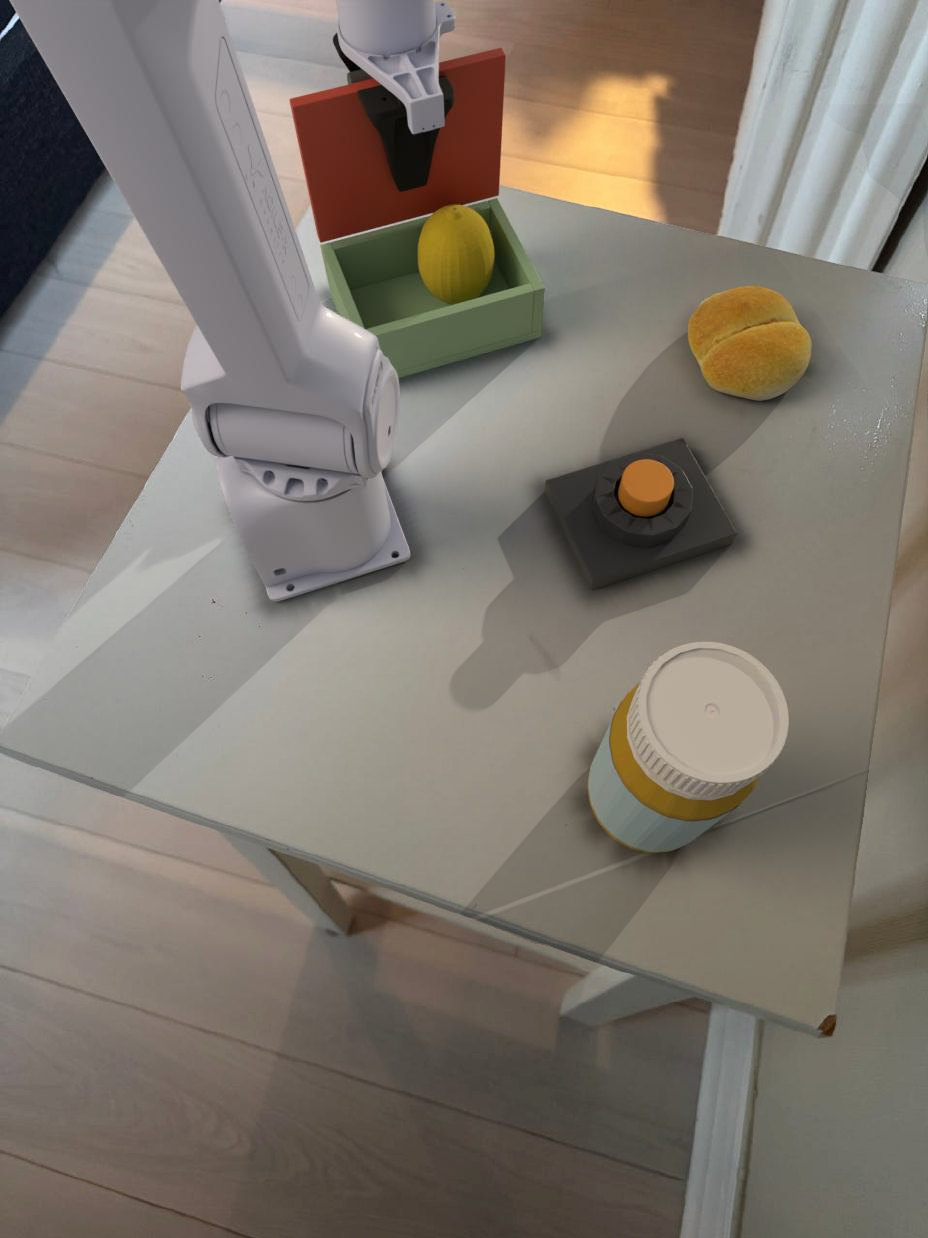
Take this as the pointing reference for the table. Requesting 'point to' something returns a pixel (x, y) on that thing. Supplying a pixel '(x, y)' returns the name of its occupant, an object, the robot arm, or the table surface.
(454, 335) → the box
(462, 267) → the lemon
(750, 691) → the bottle
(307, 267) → the robot arm
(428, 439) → the table surface
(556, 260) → the table surface
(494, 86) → the lid
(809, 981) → the table surface
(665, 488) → the button
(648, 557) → the push button box
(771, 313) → the bread roll
